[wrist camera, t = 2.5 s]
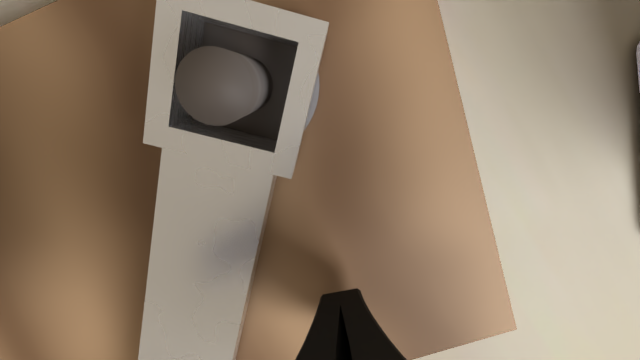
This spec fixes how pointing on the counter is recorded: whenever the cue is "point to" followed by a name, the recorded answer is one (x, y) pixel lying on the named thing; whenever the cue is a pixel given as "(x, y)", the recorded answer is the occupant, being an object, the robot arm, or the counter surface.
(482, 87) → the counter surface
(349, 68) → the board
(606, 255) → the counter surface
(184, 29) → the link
